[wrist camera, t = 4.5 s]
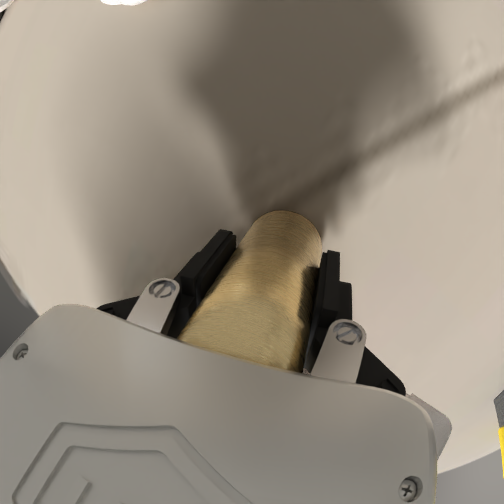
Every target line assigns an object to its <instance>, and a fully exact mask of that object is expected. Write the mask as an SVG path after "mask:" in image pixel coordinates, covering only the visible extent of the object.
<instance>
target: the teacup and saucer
mask: <svg viewBox="0 0 504 504" xmlns="http://www.w3.org/2000/svg"><path fill="white" fill-rule="evenodd" d="M100 1H102V2H103V3H106V4H110V5H118V4H124V5H138V4H141V3H143V2H145V1H147V0H100Z"/></svg>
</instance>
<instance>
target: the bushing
mask: <svg viewBox="0 0 504 504" xmlns="http://www.w3.org/2000/svg"><path fill="white" fill-rule="evenodd" d="M321 252H322V243H321V238H320V235H319V233H318V231H317V229H316V228H315V226H314V225H313V224H312V223H311V222H310V221H309V220H308V219H306V218H305V217H303V216H301V215H299V214H297V213H294V212H290V211H284V210H280V211H272V212H269V213H266V214H264V215H262V216H261V217H259V218H258V219H257V220H256V221H255V222H254V223H253V225H252V226H251V228H250V229H249V231H248V232H247V234H246V235H245V237H244V238H243V239H242V241H241V242H240V244H239V245H238V247H237V248H236V250H235V251H234V253H233V254H232V256H231V257H230V259H229V260H228V262H227V263H226V265H225V266H224V268H223V269H222V271H221V272H220V274H219V275H218V277H217V278H216V280H215V281H214V283H213V284H212V286H211V287H210V289H209V290H208V292H207V293H206V295H205V296H204V298H203V299H202V301H201V302H200V304H199V305H198V307H197V308H196V310H195V311H194V313H193V315H192V316H191V318H190V319H189V321H188V322H187V324H186V325H185V327H184V328H183V330H182V331H181V333H180V334H179V336H178V337H177V339H178V340H181V341H184V342H187V343H190V344H193V345H197V346H200V347H203V348H206V349H209V350H213V351H216V352H219V353H223V354H226V355H230V356H233V357H237V358H240V359H244V360H248V361H252V362H256V363H259V364H263V365H267V366H272V367H276V368H280V369H284V370H289V371H293V372H298V373H303V368H304V363H305V357H306V352H307V347H308V341H309V335H310V325H311V319H312V313H313V306H314V300H315V293H316V286H317V279H318V272H319V266H320V261H321Z"/></svg>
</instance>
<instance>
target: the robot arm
mask: <svg viewBox="0 0 504 504" xmlns="http://www.w3.org/2000/svg"><path fill="white" fill-rule="evenodd" d="M235 250H236V235H233V233H232V231H227V230H221V229H220V230H219V231H218V232H217V233H216V235H215V236H214V237H213V238H212V239H211V240H210V241H209V243H208V244H207V245H206V246H205V247H204V248H203V249H202V251H201V252H197V253H196V254H195V255H194V256H193V258H192V259H191V260H190V261H189V262H188V263H187V264H186V266H185V267H184V268H183V269H182V270H181V271H180V273H179V274H178V275H177V276H176V277H175V278H174V279H169V278H160V279H156V280H153V281H151V282H150V283H149V284H148V285H147V286H146V287H145V289H144V291H143V292H142V294H141V296H137V297H133V298H129V299H125V300H121V301H117V302H113V303H108V304H105V305H102V306H100V307H98V308H97V309H95V308H91V307H88V306H83V305H78V304H61V305H57V306H54V307H52V308H51V309H49V310H48V311H46V312H45V313H44V314H42V315H41V316H40V317H39V318H38V319H37V320H36V321H35V322H33V323H32V324H31V325H30V326H29V327H28V328H27V329H26V330H25V332H23V333H22V334H21V336H20V337H19V338H18V339H17V340H16V341H15V342H14V343H13V344H12V346H11V347H10V348H9V349H8V350H7V351H6V353H5V354H4V355H3V356H2V357H1V359H0V504H435V494H436V483H437V460H438V458H439V456H440V454H441V453H442V451H443V449H444V447H445V445H446V442H447V440H448V438H449V436H450V434H451V430H452V427H451V422H450V420H449V418H447V417H446V416H445V415H444V414H442V413H441V412H439V411H438V410H436V409H435V408H433V407H432V406H430V405H429V404H427V403H426V402H424V401H423V400H421V399H420V398H418V397H417V396H415V395H414V394H411V395H408V394H407V393H406V390H405V387H404V384H403V383H402V382H401V380H400V379H399V378H398V377H397V376H396V375H395V374H394V373H392V372H391V371H390V370H389V369H388V368H387V367H386V366H385V365H384V364H383V363H382V362H381V361H380V360H379V359H378V358H377V357H376V356H375V355H374V354H373V353H372V352H371V351H369V350H368V349H367V348H366V347H365V342H366V333H365V330H364V329H363V328H362V326H361V325H359V324H358V323H356V322H354V321H352V286H351V283H346V282H341V281H339V278H340V252H335V251H330V250H328V251H327V253H324V252H323V253H322V257H321V262H320V266H319V272H318V279H317V286H316V293H315V300H314V306H313V313H312V319H311V325H310V335H309V341H308V347H307V352H306V357H305V363H304V368H306V369H307V370H308V371H309V373H310V375H308V374H303V373H298V372H293V371H289V370H284V369H280V368H276V367H272V366H267V365H263V364H259V363H256V362H252V361H248V360H244V359H240V358H237V357H233V356H230V355H226V354H223V353H219V352H216V351H213V350H209V349H206V348H203V347H200V346H197V345H193V344H190V343H187V342H184V341H181V340H178V339H177V337H178V336H179V334H180V333H181V331H182V330H183V328H184V327H185V325H186V324H187V322H188V321H189V319H190V318H191V316H192V315H193V313H194V311H195V310H196V308H197V307H198V305H199V304H200V302H201V301H202V299H203V298H204V296H205V295H206V293H207V292H208V290H209V289H210V287H211V286H212V284H213V283H214V281H215V280H216V278H217V277H218V275H219V274H220V272H221V271H222V269H223V268H224V266H225V265H226V263H227V262H228V260H229V259H230V257H231V256H232V254H233V253H234V251H235Z"/></svg>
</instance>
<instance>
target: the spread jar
mask: <svg viewBox="0 0 504 504" xmlns="http://www.w3.org/2000/svg"><path fill="white" fill-rule="evenodd" d="M13 1H14V0H0V21H1V18H2V16H3V14H4V11H5V9H6V8H7V7H8V6H10V5H11V4H12V3H13Z"/></svg>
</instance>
